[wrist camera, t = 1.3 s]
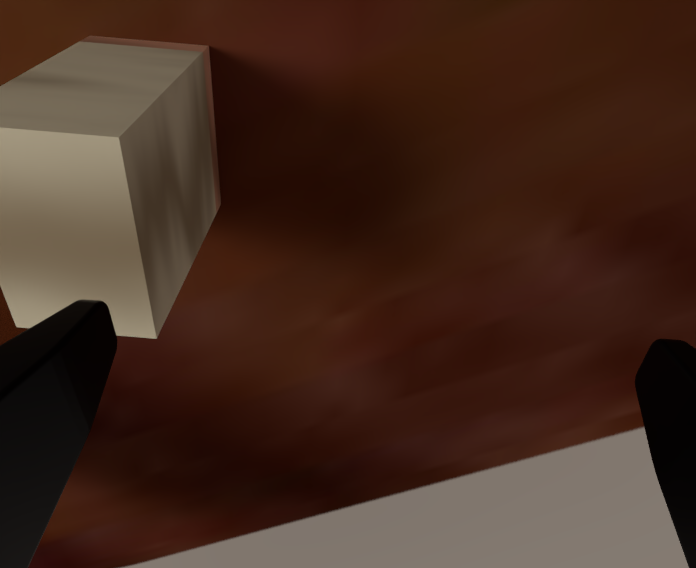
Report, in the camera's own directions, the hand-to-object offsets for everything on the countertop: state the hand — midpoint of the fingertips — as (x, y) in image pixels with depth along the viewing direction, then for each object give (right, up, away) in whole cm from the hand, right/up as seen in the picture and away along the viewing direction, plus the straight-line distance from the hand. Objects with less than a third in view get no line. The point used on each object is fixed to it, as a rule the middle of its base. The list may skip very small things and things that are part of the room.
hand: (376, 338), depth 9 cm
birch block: (-7, +7, +11) cm, 15 cm away
